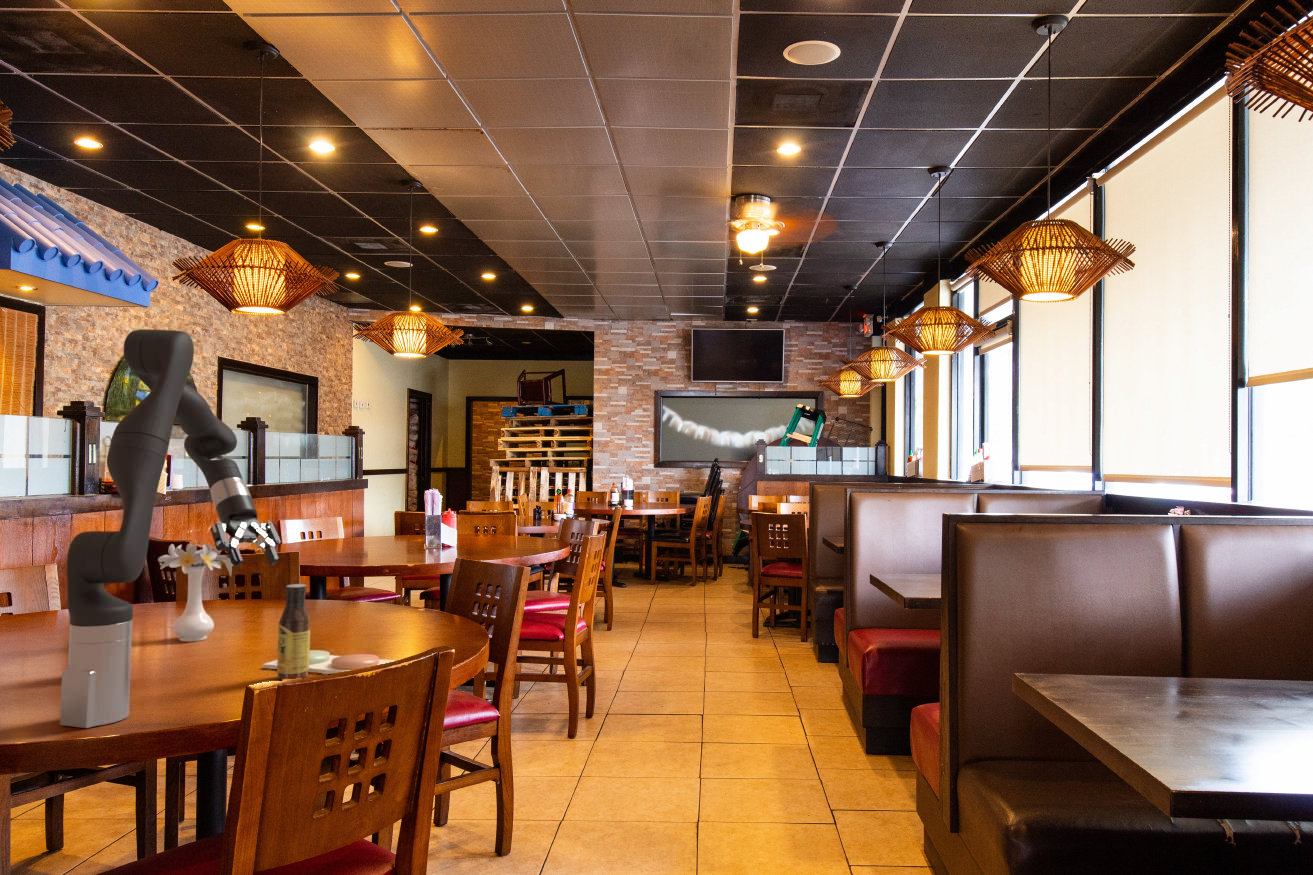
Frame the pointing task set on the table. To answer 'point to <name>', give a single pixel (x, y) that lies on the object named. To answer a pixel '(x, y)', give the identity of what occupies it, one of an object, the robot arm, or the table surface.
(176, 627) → the flower vase
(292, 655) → the sauce bottle
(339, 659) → the tray
